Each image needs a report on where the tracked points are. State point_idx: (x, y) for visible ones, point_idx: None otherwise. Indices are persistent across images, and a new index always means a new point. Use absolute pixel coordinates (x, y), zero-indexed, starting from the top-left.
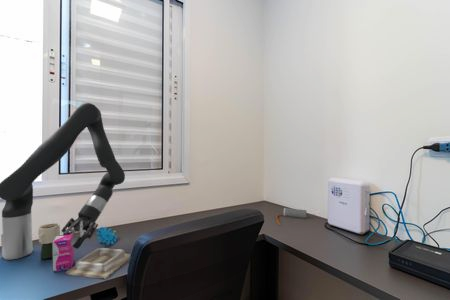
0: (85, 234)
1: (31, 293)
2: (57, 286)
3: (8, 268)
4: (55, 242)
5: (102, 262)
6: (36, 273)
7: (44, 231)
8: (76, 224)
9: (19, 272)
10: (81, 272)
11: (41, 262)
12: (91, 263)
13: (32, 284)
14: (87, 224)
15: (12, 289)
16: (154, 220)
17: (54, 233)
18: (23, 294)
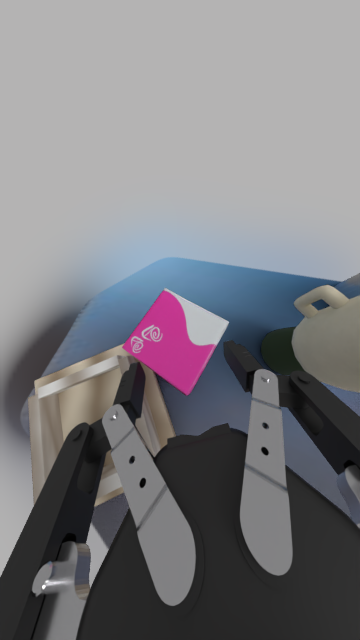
0: (76, 431)
1: (133, 278)
2: (113, 310)
3: (279, 277)
4: (159, 298)
5: (98, 418)
6: (204, 303)
7: (356, 302)
8: (243, 482)
9: (238, 285)
10: (103, 355)
11: (257, 326)
12: (74, 377)
13: (163, 287)
14: (100, 573)
15: (175, 265)
16: None
17: (330, 351)
18: (141, 271)
